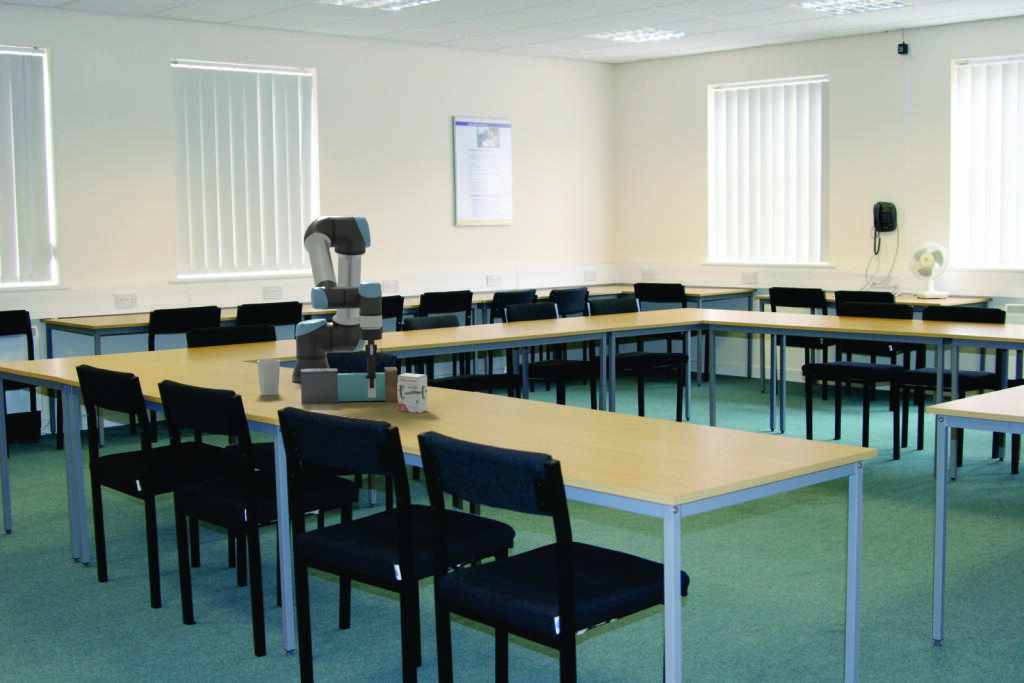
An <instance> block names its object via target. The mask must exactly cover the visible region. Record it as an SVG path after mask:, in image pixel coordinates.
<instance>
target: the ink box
mask: <svg viewBox="0 0 1024 683" xmlns="http://www.w3.org/2000/svg"><path fill="white" fill-rule="evenodd" d="M397 393H398V402H397V403H398V411H399V412H406V411H409V412H408V413H416V412H418V414H421V413H425V412H428V405H429V404H428V375H426V374H421V373H420V374H419V373H410V372H405V373H401V374H397ZM424 411H425V412H424Z"/></svg>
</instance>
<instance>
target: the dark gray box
mask: <svg viewBox="0 0 1024 683" xmlns="http://www.w3.org/2000/svg"><path fill="white" fill-rule="evenodd" d="M337 373H338V367H336V368H335V367H334V368H333V367H331V368H325V369H301V383H300V386H301V387H300V390H301V392H300V393H301V395H300V396H301V397H300V398H301V401H300V402H301V405H323V404H325V405H326V404H328V405H329V404H339V401H338V381H337Z"/></svg>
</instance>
